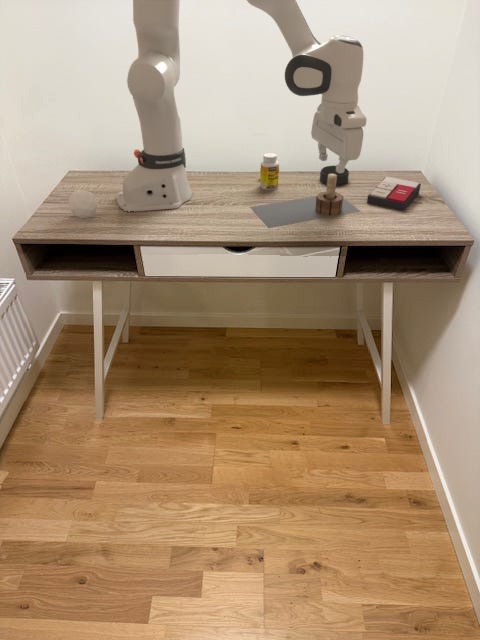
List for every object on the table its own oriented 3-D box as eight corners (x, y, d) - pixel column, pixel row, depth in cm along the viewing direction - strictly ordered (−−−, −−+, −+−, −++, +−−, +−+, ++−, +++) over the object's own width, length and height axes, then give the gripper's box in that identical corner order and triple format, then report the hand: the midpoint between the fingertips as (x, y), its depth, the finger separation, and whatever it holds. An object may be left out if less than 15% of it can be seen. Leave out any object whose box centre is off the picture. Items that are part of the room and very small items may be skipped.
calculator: (367, 193, 138) (385, 174, 148) (365, 207, 141) (383, 187, 151) (405, 201, 134) (421, 181, 143) (403, 215, 136) (419, 194, 146)
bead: (323, 217, 133) (324, 203, 131) (311, 207, 138) (312, 193, 136) (345, 212, 135) (347, 199, 133) (333, 203, 140) (334, 190, 138)
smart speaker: (331, 189, 150) (332, 177, 147) (313, 180, 156) (315, 168, 153) (353, 183, 153) (355, 171, 151) (335, 174, 159) (337, 162, 157)
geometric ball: (95, 225, 138) (103, 208, 132) (66, 222, 134) (73, 204, 128) (91, 204, 141) (99, 186, 135) (63, 200, 136) (70, 181, 130)
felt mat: (268, 229, 129) (268, 227, 128) (249, 208, 139) (249, 207, 139) (360, 212, 136) (360, 211, 136) (336, 193, 147) (336, 192, 146)
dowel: (326, 212, 135) (330, 177, 129) (322, 208, 137) (326, 174, 131) (334, 210, 136) (338, 176, 130) (330, 207, 138) (334, 173, 132)
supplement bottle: (267, 192, 148) (267, 159, 142) (256, 186, 152) (257, 154, 146) (281, 188, 150) (283, 155, 144) (271, 182, 154) (272, 150, 148)
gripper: (308, 102, 127) (303, 154, 136) (347, 123, 112) (339, 181, 121) (329, 100, 129) (323, 152, 138) (370, 121, 114) (361, 178, 122)
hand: (331, 166), depth 129 cm, fingers open, 8 cm apart
